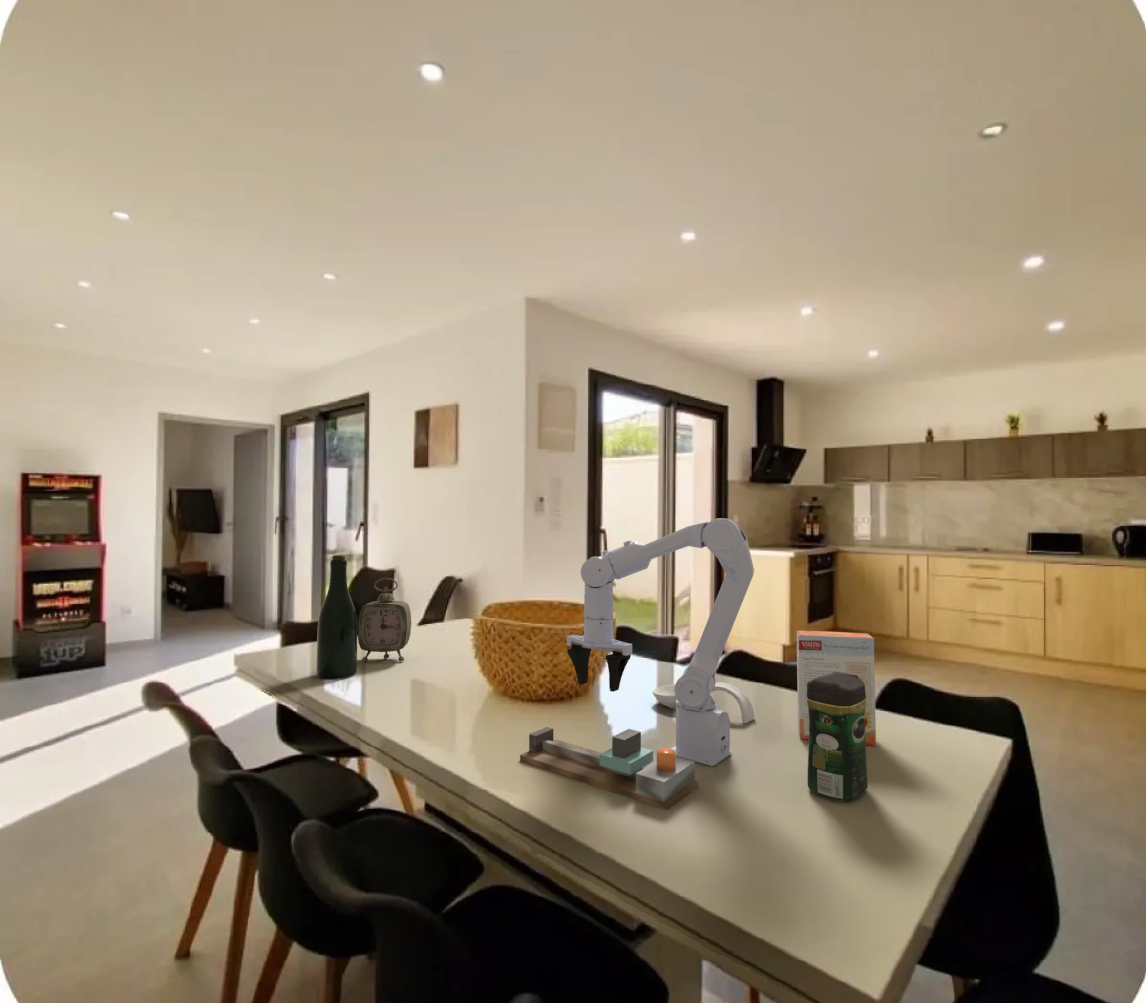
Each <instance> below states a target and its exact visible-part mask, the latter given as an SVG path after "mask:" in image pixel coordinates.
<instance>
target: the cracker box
mask: <svg viewBox="0 0 1146 1003" xmlns="http://www.w3.org/2000/svg"><path fill="white" fill-rule="evenodd" d="M875 665H876V664H875V638H874V637H873V636H872V635H871V634H869V633H866V632H865V633H863V632H843V631H822V630H821V631H820V630H796V670H797V671H796V679H797V681H796V684H797V688H796V689H797V693H796V694H797V732H798V735H799V738H800V739H801V740H805V741H806V740H808V741H809V711H808V704H807V682H808V681H810V680H813V679H815V678H818V677H820V676H823V675H827V674H830V673H833V672H834V671H836V672H842V673H847V674H852V675H857V676H858V677H859V678H860V679H861V680H862V681H863V683H864V685H865V693H866V705H865V743H866V746H876V745H877V742H876V741H877V737H876V736H877V735H876V734H877V732H876V730H877V729H876V724H877V723H876V720H877V719H876V679H875V678H876V676H875V675H876V674H875V671H876V670H875V668H876V666H875Z"/></svg>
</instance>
